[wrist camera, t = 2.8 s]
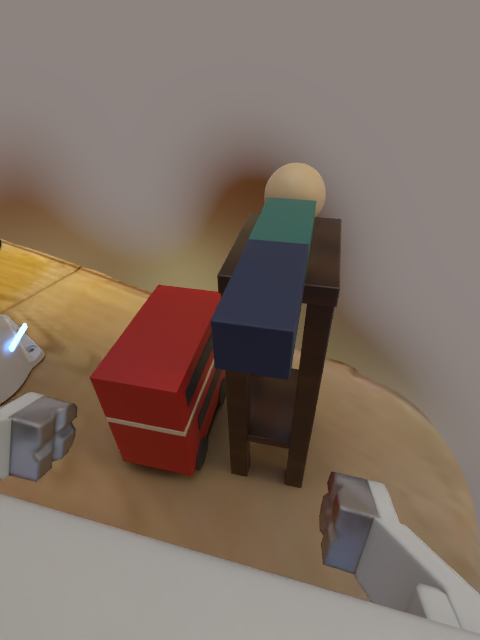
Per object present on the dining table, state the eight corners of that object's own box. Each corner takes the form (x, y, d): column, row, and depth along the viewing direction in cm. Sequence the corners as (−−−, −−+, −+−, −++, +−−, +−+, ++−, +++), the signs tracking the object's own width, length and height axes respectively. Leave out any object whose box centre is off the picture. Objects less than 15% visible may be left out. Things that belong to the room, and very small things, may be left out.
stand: (302, 490, 39) (340, 288, 22) (229, 475, 40) (216, 275, 24) (309, 408, 47) (341, 218, 31) (249, 398, 48) (250, 212, 32)
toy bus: (196, 486, 39) (178, 393, 29) (125, 470, 41) (87, 377, 31) (230, 382, 51) (225, 291, 41) (174, 373, 52) (157, 283, 43)
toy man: (302, 383, 16) (314, 297, 13) (202, 367, 17) (192, 283, 14) (322, 215, 31) (330, 156, 28) (268, 211, 32) (270, 154, 29)
